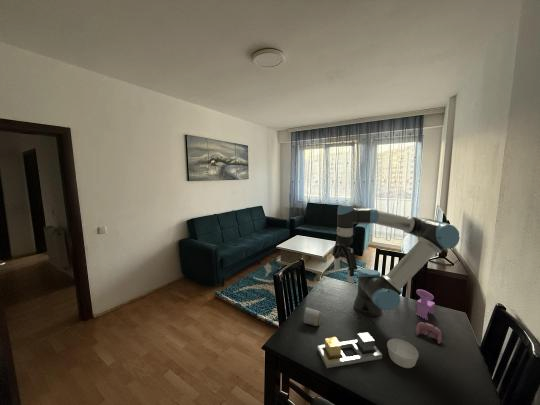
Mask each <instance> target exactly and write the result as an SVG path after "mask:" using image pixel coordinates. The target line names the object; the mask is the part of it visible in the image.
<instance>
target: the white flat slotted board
mask: <svg viewBox="0 0 540 405" xmlns="http://www.w3.org/2000/svg"><path fill="white" fill-rule="evenodd" d="M339 343H340V344H341V358H339V359H333V360H328V358H327V356H326V354H325V344H321V345H319V344H318V345H317V351H318V353H319V356H320V357H321V359H322V361H323V363H324V364H325V366H326V369H329V368H336V367H340V366H345V365H346V366H347V365H348V366H349V365H352V364H358V363H365V362H369V361H377V360H382V359H383V353H382V352H381V351H380V350H379V349H378V348H377V346H376V345H375V344H374V353H369V354H362V352H361V351H360V350H359V349H358V347H357V339H352V340H346V341H339ZM348 348H352V350H353V352H355V354H356V355H353V356H346V355H345V353H344V352H343V350H342V349H348Z"/></svg>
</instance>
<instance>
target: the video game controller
mask: <svg viewBox="0 0 540 405" xmlns="http://www.w3.org/2000/svg"><path fill="white" fill-rule="evenodd" d="M428 331H429V332H430V333H429V337H430V338H432V339H435V338H436V341H437V344H439V345H440V344H441V342H442V331H441V329H439V328H438V327H437V326H435V325H434V324H431V323H430V322H429V323H428V322H422V321H420V322H418V323H417V325H416V327H415V335H416V336H419V335H420V333H422V335H424V336H427V335H428Z"/></svg>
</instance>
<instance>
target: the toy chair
mask: <svg viewBox="0 0 540 405" xmlns="http://www.w3.org/2000/svg"><path fill="white" fill-rule="evenodd" d="M415 293H416V294H417V295H418V296H419V297H420V298H419V299H418V300H417V301H416V308H417V310H416V312H415V314H416V315H415V314H414V315H415V316H417V315H418V317H419V316H420V317H419V318H421V317H422V318H421V319H424V318H425V319H424V320H426V319H427V320H426V321H428V320H429V319H428V314H430V313H432V314H434V307H435V306H436V303H435V302H434V301H433V300H434V299H435V296H434V295H433V294H432V293H430V292H428V291H427V290H424V289H416V292H415ZM428 312H430V313H428ZM432 314H431V315H432Z"/></svg>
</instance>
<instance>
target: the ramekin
mask: <svg viewBox="0 0 540 405" xmlns="http://www.w3.org/2000/svg"><path fill="white" fill-rule="evenodd" d="M386 347H387V351H388V355H389V358H390V359H391V361H392V362H394V364H396V365H398V366H399V367H402V368H405V369H411V368H413V367H415V366H416V364H417V360H418V359H419V357H420V356H419V351H418V350H417V348H416V347H415V346H414V345H413V344H411V343H410V342H408V341H406V340H403V339H400V338H391V339H389V340H388V341H387V343H386Z"/></svg>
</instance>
